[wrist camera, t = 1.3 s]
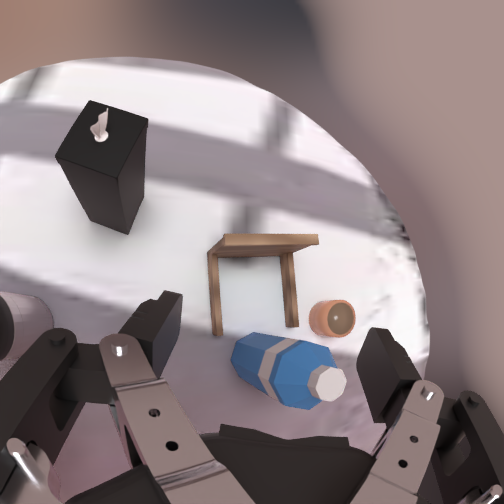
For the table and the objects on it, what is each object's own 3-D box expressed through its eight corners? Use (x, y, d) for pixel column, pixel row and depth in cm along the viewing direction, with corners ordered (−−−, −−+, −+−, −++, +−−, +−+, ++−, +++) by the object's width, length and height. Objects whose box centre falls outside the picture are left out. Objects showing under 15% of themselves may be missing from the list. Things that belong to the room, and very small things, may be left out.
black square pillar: (144, 196, 53) (150, 100, 27) (128, 236, 51) (114, 164, 25) (106, 182, 51) (86, 81, 25) (89, 220, 49) (46, 140, 23)
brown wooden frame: (290, 326, 58) (326, 328, 46) (212, 334, 53) (232, 341, 41) (283, 249, 60) (317, 234, 48) (207, 250, 55) (224, 233, 43)
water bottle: (277, 329, 57) (362, 337, 34) (280, 377, 55) (364, 410, 32) (228, 334, 54) (291, 350, 30) (232, 384, 52) (296, 432, 29)
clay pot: (327, 342, 60) (344, 344, 54) (302, 323, 59) (318, 324, 53) (343, 313, 62) (361, 313, 57) (319, 294, 61) (337, 292, 55)
